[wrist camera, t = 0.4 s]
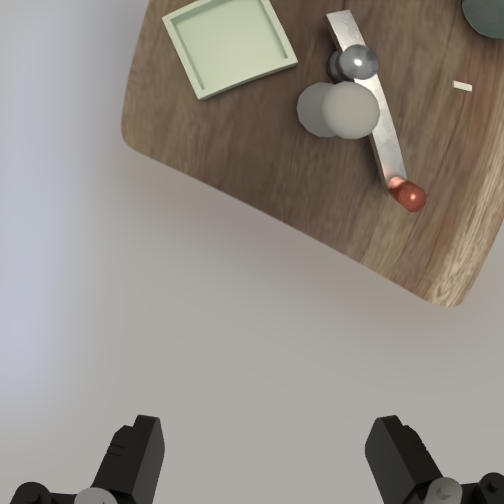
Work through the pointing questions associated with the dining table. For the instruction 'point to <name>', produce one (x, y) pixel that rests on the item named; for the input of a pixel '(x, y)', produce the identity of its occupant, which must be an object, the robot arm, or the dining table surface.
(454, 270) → the dining table surface
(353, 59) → the crank
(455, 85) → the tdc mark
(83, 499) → the robot arm
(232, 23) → the tray
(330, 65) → the crank base
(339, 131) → the salt shaker
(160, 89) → the dining table surface
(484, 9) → the disposable coffee cup
